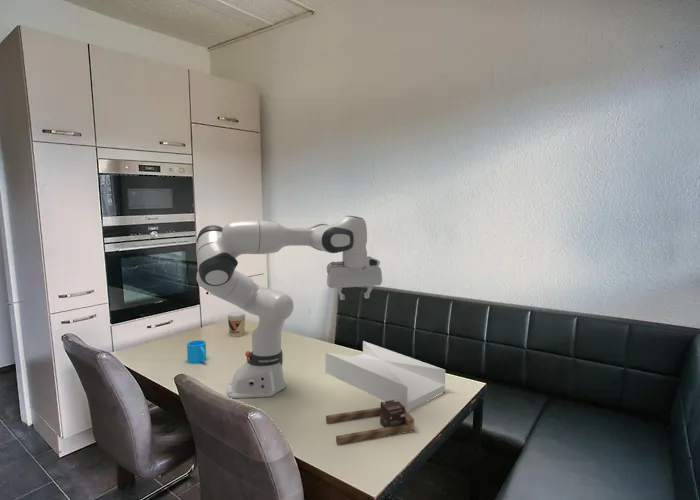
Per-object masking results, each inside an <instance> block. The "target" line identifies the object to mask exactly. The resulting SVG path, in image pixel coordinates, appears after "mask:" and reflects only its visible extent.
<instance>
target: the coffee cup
mask: <svg viewBox="0 0 700 500" xmlns="http://www.w3.org/2000/svg"><path fill="white" fill-rule="evenodd" d="M227 322H228V331H229V337H231V338H241V337H243V336H245V326H246V323H245V322H246V313H245V312H244V311H232V312H229V313H228V314H227Z"/></svg>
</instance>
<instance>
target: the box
mask: <svg viewBox="0 0 700 500" xmlns="http://www.w3.org/2000/svg"><path fill="white" fill-rule="evenodd" d="M380 407H381V411H380V415H379V417H380V420H379V421H380V425H381V426H382V428H386V427H392V426H397V425H403V424H405V407H404V406H403V405H402V404H401V403H400V402H399V401H398V400H392V401H381V402H380ZM380 407H379V408H380Z"/></svg>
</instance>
